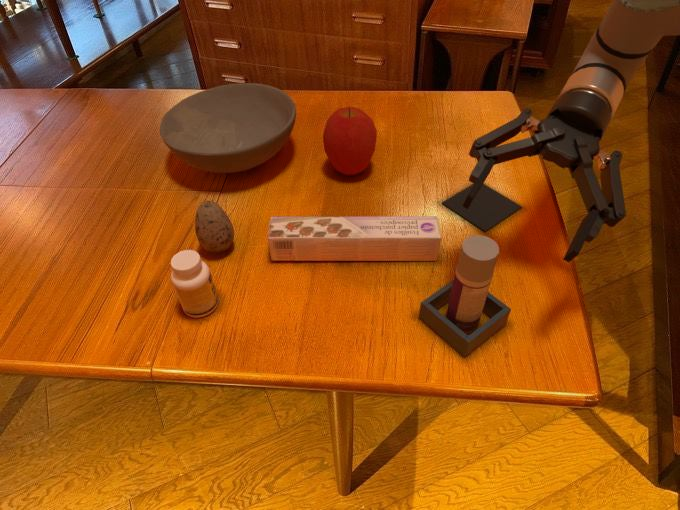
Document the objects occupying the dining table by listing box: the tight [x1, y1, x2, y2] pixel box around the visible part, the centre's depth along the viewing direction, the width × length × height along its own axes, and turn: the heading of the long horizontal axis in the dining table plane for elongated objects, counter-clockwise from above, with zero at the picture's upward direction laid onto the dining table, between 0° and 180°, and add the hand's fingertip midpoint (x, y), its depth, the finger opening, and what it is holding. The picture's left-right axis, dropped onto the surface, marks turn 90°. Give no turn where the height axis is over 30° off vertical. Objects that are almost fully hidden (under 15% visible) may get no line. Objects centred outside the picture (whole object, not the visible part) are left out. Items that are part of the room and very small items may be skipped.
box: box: [267, 215, 442, 262], centre depth 79 cm, size 27×5×6 cm, turn 89°
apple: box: [322, 105, 378, 176], centre depth 92 cm, size 10×10×14 cm
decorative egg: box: [194, 200, 235, 254], centre depth 78 cm, size 6×6×10 cm
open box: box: [418, 279, 512, 358], centre depth 69 cm, size 9×9×4 cm
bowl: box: [159, 82, 297, 174], centre depth 97 cm, size 26×26×10 cm
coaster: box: [441, 183, 523, 233], centre depth 88 cm, size 10×10×1 cm
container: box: [445, 234, 500, 335], centre depth 65 cm, size 5×5×15 cm
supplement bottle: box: [170, 249, 219, 318], centre depth 70 cm, size 5×5×10 cm
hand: (517, 229), depth 59 cm, fingers open, 13 cm apart
